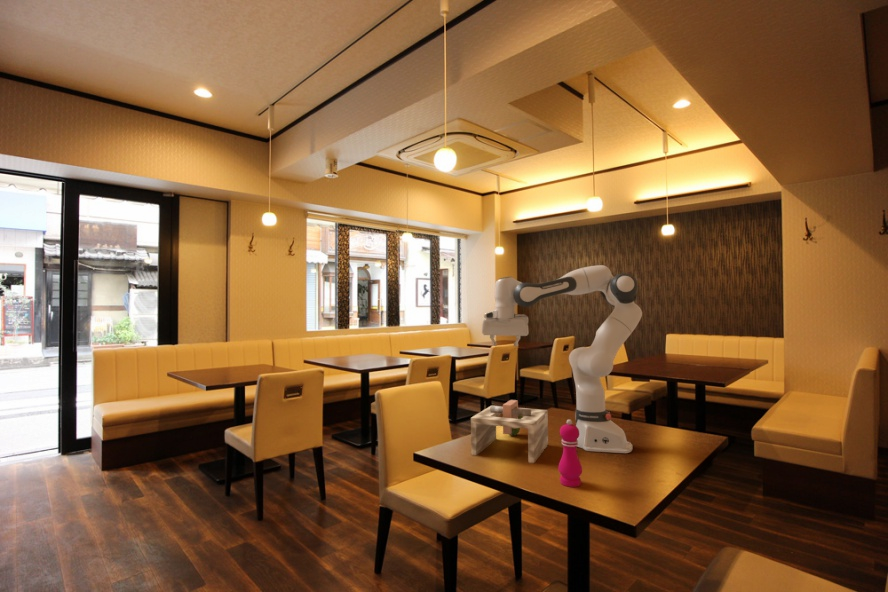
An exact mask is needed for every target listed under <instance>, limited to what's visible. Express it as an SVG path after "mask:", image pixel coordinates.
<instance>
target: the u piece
mask: <svg viewBox="0 0 888 592" xmlns="http://www.w3.org/2000/svg"><path fill="white" fill-rule="evenodd" d="M502 406H503V414H502V417H503V418H513V419H518V415H517V414H512V411H511V410H512V409H514V408H519V401H518V400H516V399H510V400H508V401H507V402H505V403H503V404H502ZM512 428H514V429H518V428H515V427H505V426H502V434H504V435H509V434H510V435H509V436H512V435H511V434H512Z"/></svg>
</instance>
